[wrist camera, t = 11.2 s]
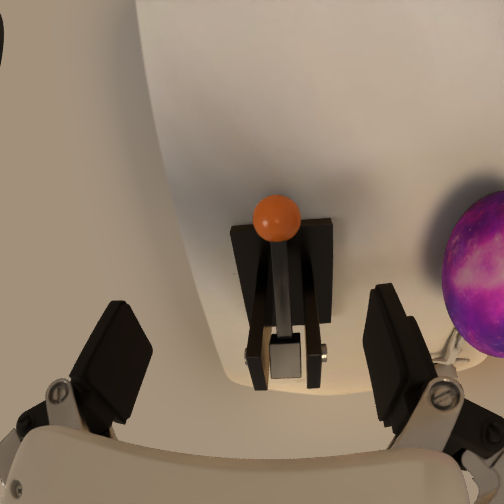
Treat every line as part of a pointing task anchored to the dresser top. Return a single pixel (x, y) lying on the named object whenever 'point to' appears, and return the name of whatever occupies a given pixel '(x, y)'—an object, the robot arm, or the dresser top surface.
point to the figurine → (450, 357)
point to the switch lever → (280, 280)
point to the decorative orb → (477, 275)
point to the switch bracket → (301, 289)
